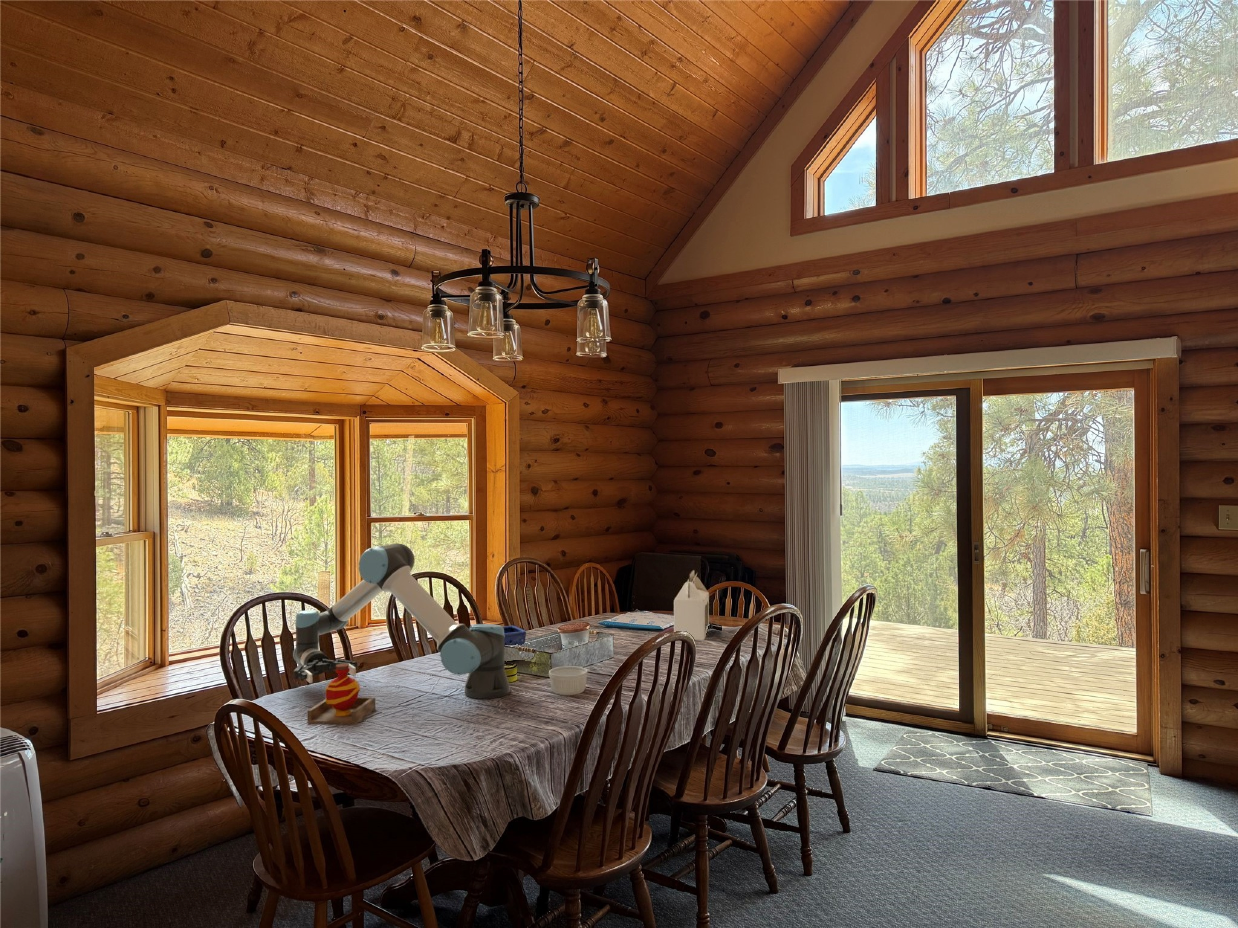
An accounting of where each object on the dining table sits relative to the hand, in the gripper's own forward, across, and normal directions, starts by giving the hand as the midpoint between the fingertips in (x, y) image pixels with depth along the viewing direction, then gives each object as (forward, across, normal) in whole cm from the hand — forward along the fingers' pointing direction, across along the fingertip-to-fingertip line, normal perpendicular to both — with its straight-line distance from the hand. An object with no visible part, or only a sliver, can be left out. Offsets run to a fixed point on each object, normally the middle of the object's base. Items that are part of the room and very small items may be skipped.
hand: (333, 675), depth 262 cm
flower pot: (-25, -74, -11) cm, 78 cm away
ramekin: (+27, -71, -11) cm, 77 cm away
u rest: (+10, 0, -10) cm, 14 cm away
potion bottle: (+9, 0, -10) cm, 14 cm away
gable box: (-17, -163, -11) cm, 164 cm away
